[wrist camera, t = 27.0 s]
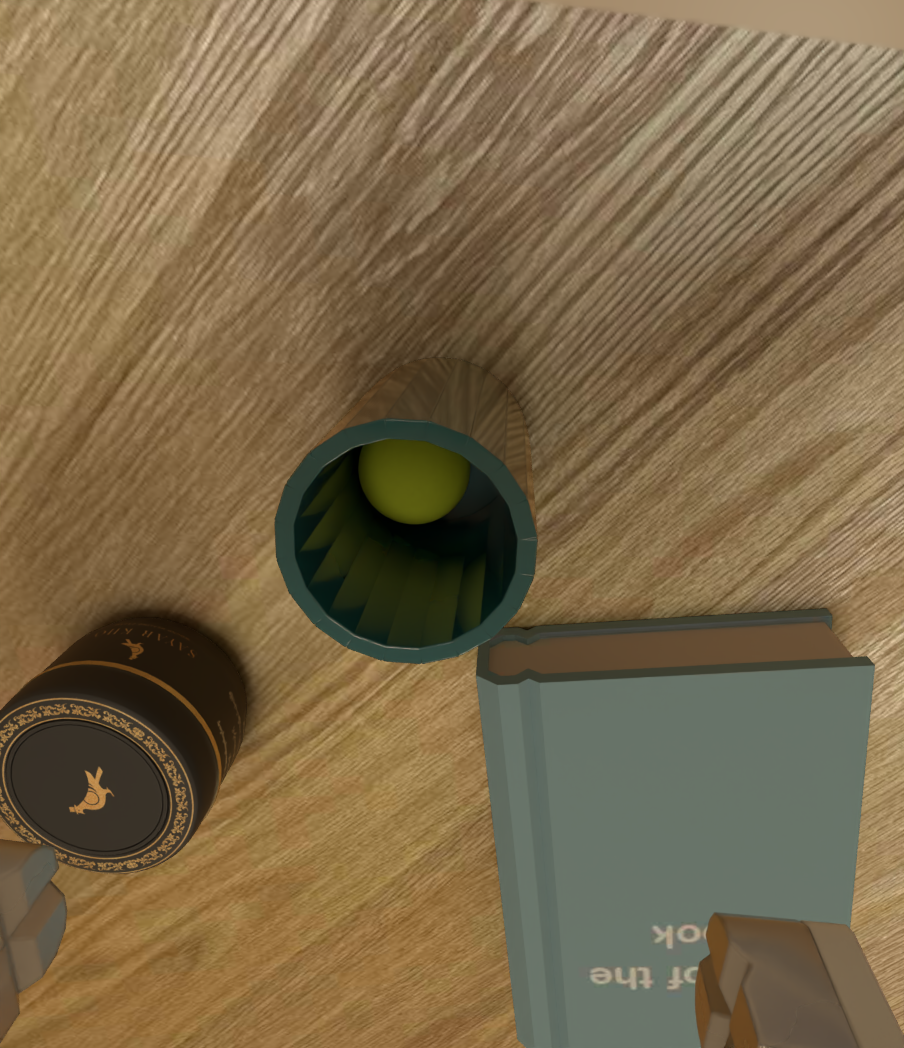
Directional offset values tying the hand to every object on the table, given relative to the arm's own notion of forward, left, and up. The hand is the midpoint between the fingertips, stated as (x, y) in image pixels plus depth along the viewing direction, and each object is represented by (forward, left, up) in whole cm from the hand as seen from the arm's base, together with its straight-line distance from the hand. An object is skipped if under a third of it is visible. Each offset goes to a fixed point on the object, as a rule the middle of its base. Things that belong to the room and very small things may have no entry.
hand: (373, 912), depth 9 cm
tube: (+1, -2, -25) cm, 25 cm away
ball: (+1, -2, -23) cm, 23 cm away
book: (+20, +10, -26) cm, 34 cm away
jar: (+15, -16, -26) cm, 33 cm away
